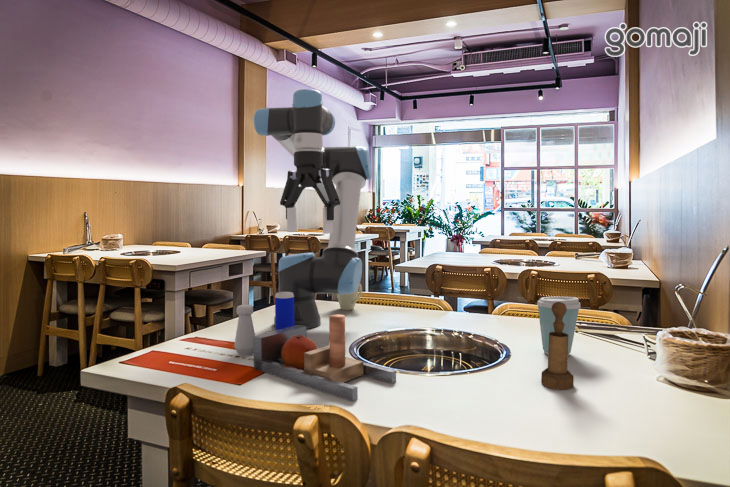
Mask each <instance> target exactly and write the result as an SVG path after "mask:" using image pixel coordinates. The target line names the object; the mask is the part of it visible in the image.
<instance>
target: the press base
mask: <svg viewBox="0 0 730 487" xmlns="http://www.w3.org/2000/svg"><path fill="white" fill-rule="evenodd" d="M307 330H308V329H307V328H306V326H302V325H295V326H291V327H287V328H283V329H279V330H276V329H275V330H273V331H269V332H264V333H260V334H255V336H253V351H254V353H253V370H256V371H260V372H263V373H265V374H268V375H271V376H275V377H277V378H281V379H284V380H287V381H290V382H292V383H295V384H299V385H303V386H306V387H309V388H310V389H314V390H316V391H320V392H323V393H326V394H329V395H332V396H335V397H339V398H342V399H345V400H347V401H350V402H354V401H357V400H358V397H359V396H358V393H359V391H358V389H359V387H358V386H356V385H352V384H349V383H347V382H339V381H336V380H333V379H330V378H326V377H323V376H320V375H316V374H313V373H310V372H306V371H304V370H300V369H296V368H293V367H290V366H286V365H285V364H284V362H283V360H282V357H281V351H282V348H283V345H284V344H285V342H286V341H288V340H289V339H291V338H292V337H294V336H297V335H302V336H304V337H307V336H308V335H307V332H308V331H307ZM307 338H308V337H307ZM362 376H363V377H368V378H371V379H374V380H378V381H381V382H386V383H389V384H394V383H396V382H397V370H395V369H391V368H387V367H383V366H380V365H377V364H376V365H375V364H372V363H368V362H364V361H363V375H362Z"/></svg>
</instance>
